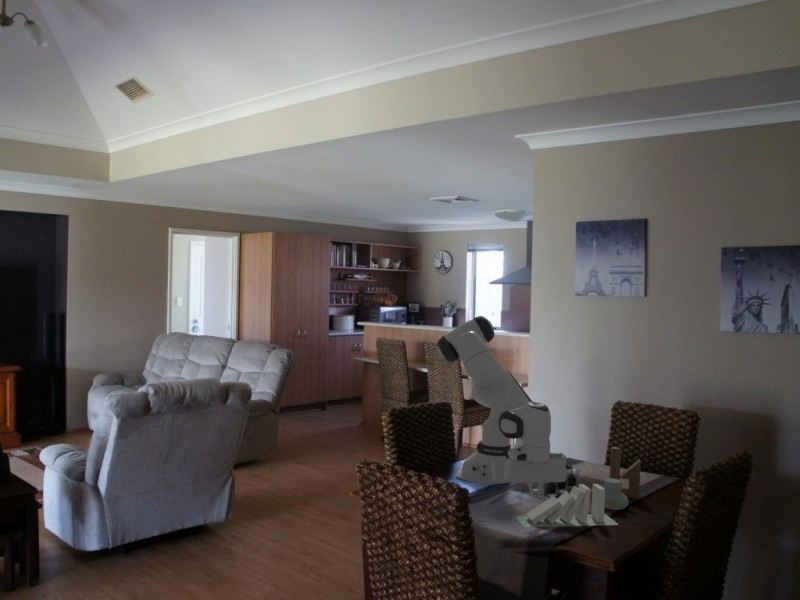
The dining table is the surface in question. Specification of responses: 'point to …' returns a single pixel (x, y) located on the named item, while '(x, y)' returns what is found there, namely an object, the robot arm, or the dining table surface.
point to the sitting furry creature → (518, 443)
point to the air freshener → (614, 495)
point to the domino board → (560, 522)
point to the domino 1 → (544, 510)
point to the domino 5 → (598, 503)
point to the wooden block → (625, 474)
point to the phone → (568, 465)
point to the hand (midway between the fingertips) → (534, 495)
